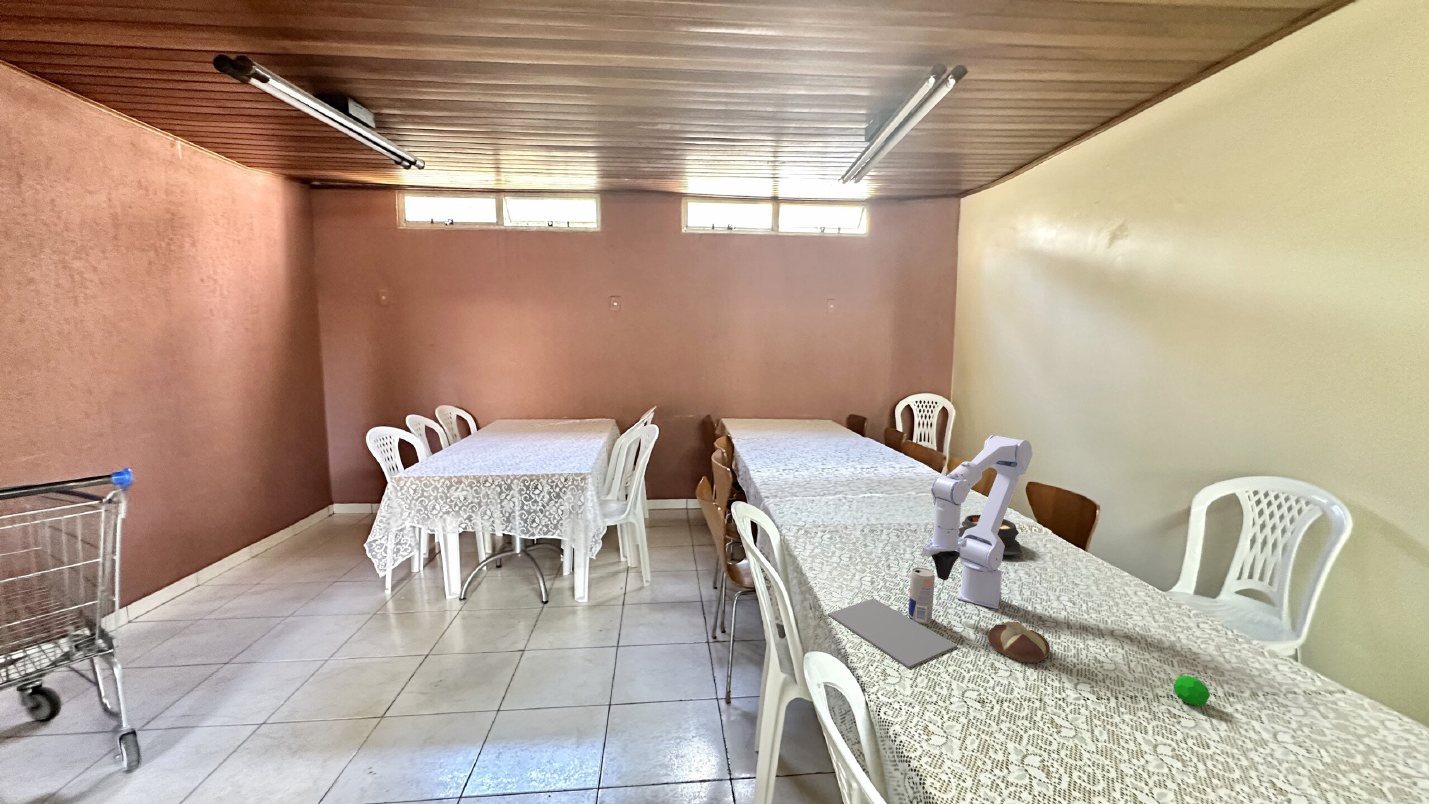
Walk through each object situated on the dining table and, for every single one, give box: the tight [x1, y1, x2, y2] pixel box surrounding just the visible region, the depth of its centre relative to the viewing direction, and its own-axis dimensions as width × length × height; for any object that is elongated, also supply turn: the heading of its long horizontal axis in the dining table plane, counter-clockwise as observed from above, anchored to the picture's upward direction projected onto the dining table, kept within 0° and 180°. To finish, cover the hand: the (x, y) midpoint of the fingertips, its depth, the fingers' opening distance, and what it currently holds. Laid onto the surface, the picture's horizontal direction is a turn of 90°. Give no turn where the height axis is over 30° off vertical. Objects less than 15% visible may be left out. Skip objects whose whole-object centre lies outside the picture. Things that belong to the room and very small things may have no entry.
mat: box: [827, 598, 958, 670], centre depth 120 cm, size 16×24×1 cm, turn 30°
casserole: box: [959, 514, 1023, 556], centre depth 174 cm, size 25×19×8 cm
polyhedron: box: [1172, 675, 1211, 707], centre depth 97 cm, size 5×5×5 cm
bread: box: [987, 621, 1051, 664], centre depth 114 cm, size 11×11×5 cm
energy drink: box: [907, 567, 936, 625], centre depth 125 cm, size 5×5×12 cm
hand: (942, 578), depth 129 cm, fingers closed
